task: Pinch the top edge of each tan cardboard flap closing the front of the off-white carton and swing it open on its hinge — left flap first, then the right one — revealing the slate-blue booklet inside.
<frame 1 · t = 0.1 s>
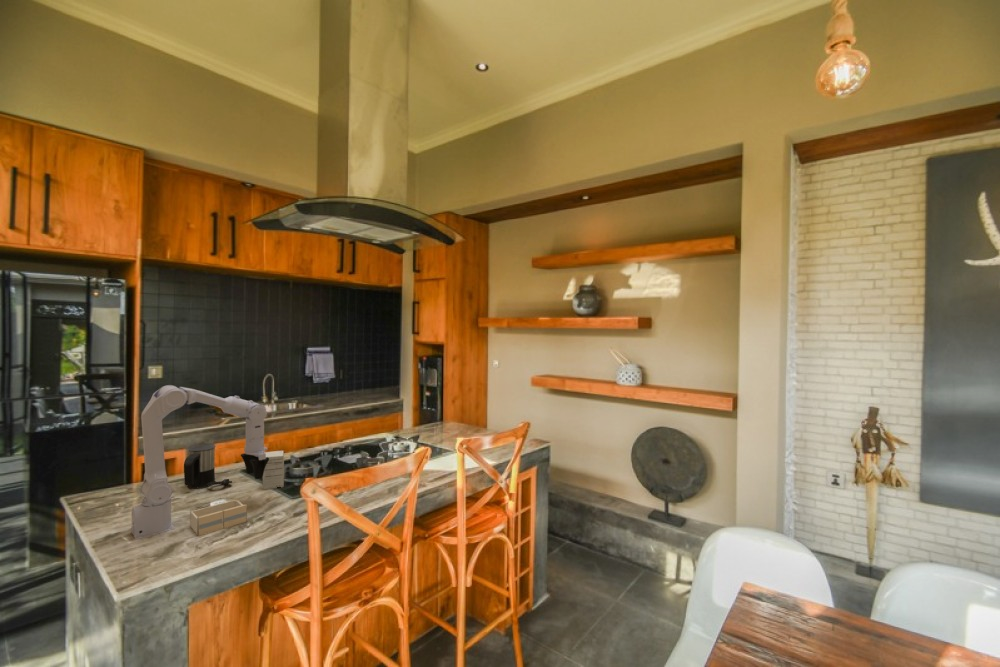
hand: (254, 475, 155), 10 cm above the counter, fingers open, 7 cm apart
booklet: (217, 522, 139), resting on carton
milk frother: (210, 486, 171), on the counter
supplement box: (273, 486, 172), on the counter
flap right: (235, 516, 139), point 3 cm above the counter, hinge at 0.0°
carton: (218, 524, 139), on the counter
flap left: (209, 523, 133), point 3 cm above the counter, hinge at 0.0°
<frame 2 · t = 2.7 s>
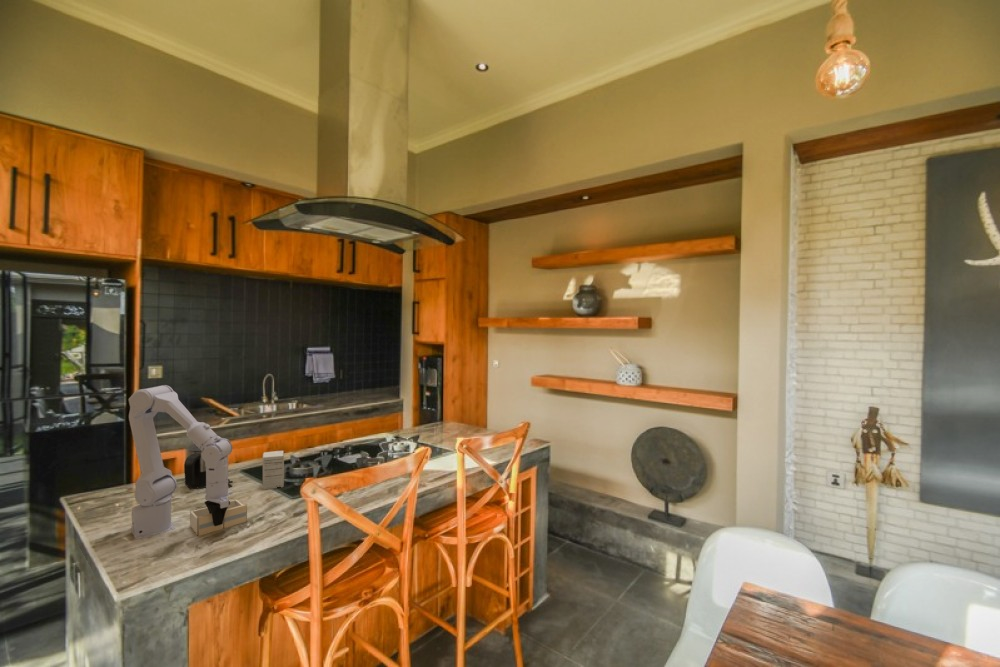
hand: (217, 524, 135), 2 cm above the counter, fingers closed, pressing on flap left
flap left: (209, 523, 133), point 3 cm above the counter, hinge at 0.0°, touching gripper
everything else where it was.
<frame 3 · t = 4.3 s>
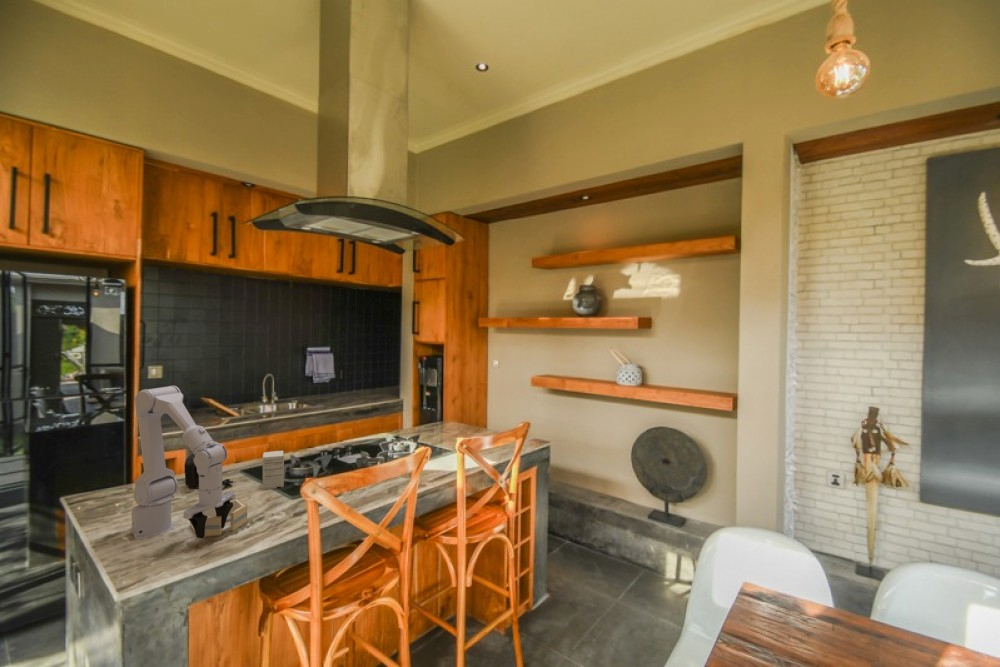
hand: (210, 532, 130), 2 cm above the counter, fingers open, 6 cm apart
flap right: (239, 517, 138), point 3 cm above the counter, hinge at 36.2°
flap left: (208, 526, 131), point 3 cm above the counter, hinge at 40.0°, touching gripper
everything else where it was.
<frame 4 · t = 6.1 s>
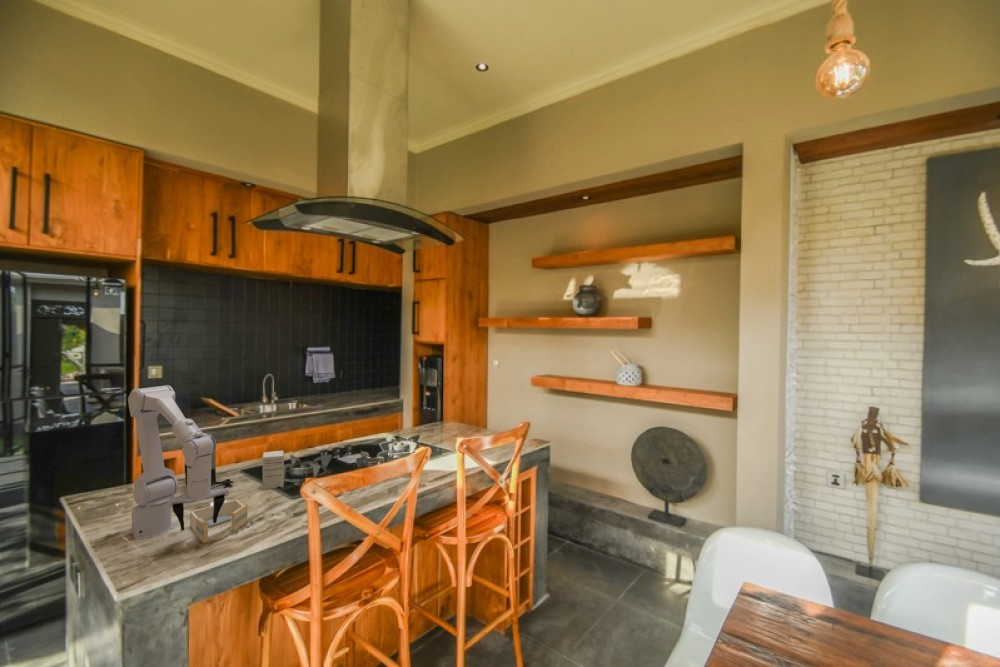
hand: (198, 525, 127), 5 cm above the counter, fingers open, 7 cm apart
flap right: (240, 517, 138), point 3 cm above the counter, hinge at 39.6°
flap left: (201, 529, 129), point 3 cm above the counter, hinge at 86.6°
everything else where it was.
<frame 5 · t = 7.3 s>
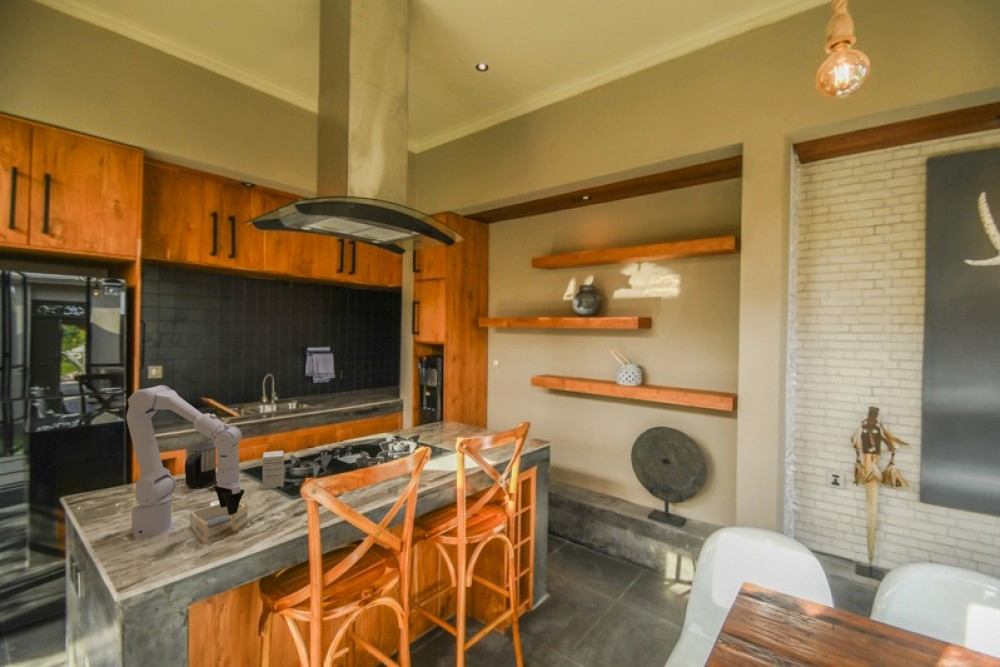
hand: (228, 510, 137), 6 cm above the counter, fingers open, 7 cm apart
flap right: (240, 517, 138), point 3 cm above the counter, hinge at 39.6°, touching gripper
flap left: (201, 529, 129), point 3 cm above the counter, hinge at 86.9°
everything else where it was.
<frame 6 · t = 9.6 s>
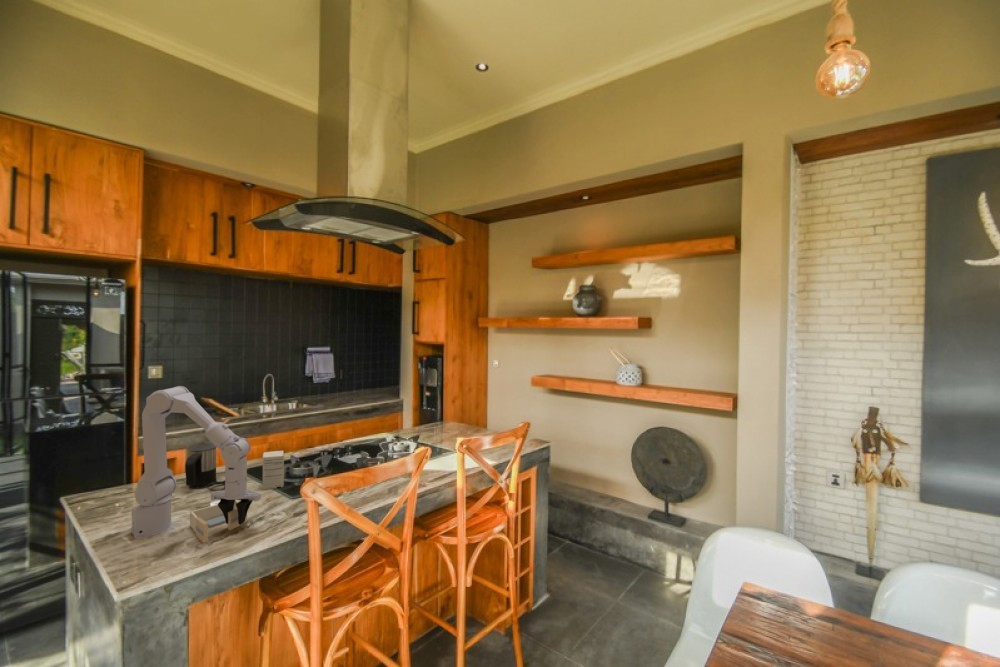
hand: (235, 522, 136), 2 cm above the counter, fingers open, 3 cm apart
flap right: (238, 517, 138), point 3 cm above the counter, hinge at 26.5°, touching gripper
everything else where it was.
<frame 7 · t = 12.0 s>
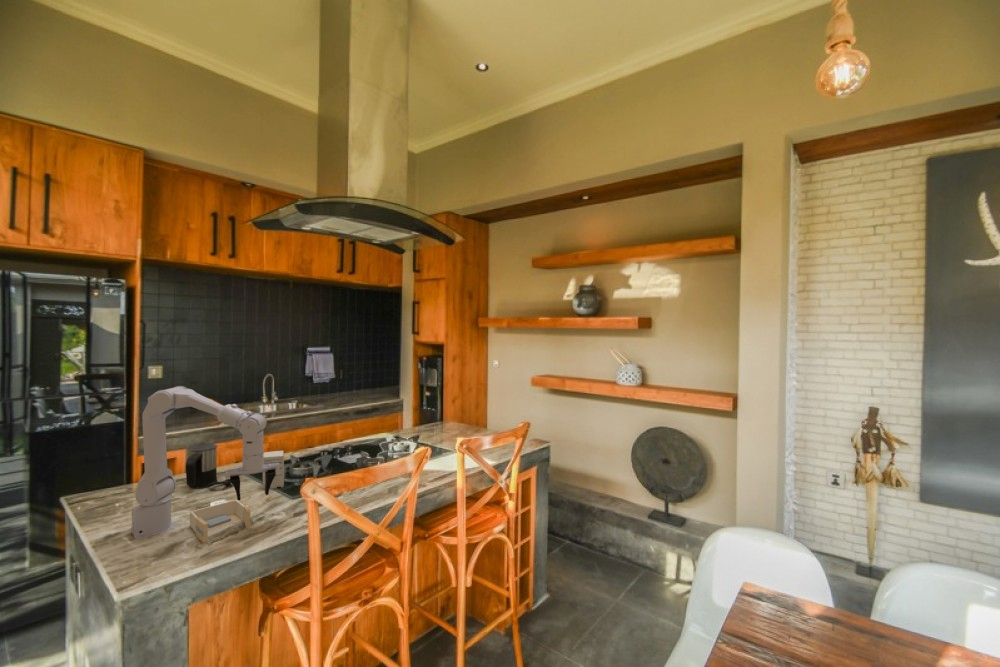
hand: (252, 496, 138), 10 cm above the counter, fingers open, 7 cm apart
flap right: (247, 516, 138), point 3 cm above the counter, hinge at 78.2°
everything else where it was.
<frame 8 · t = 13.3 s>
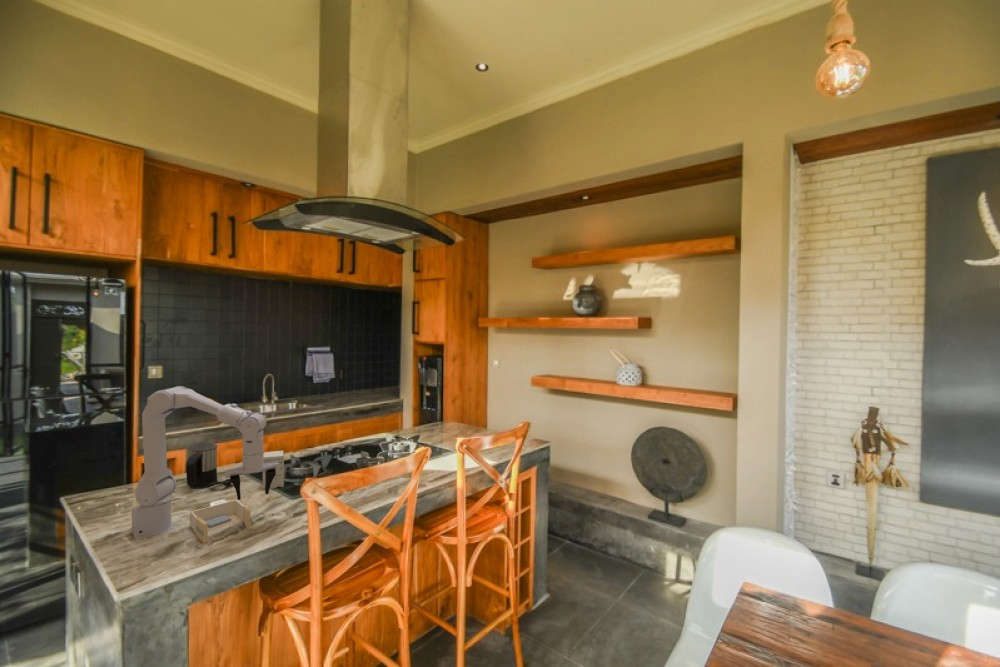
hand: (253, 496, 138), 10 cm above the counter, fingers open, 7 cm apart
flap right: (247, 516, 138), point 3 cm above the counter, hinge at 78.5°
everything else where it was.
at the end: flap left at +87° (first picture: +0°); flap right at +78° (first picture: +0°); the gripper is holding nothing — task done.
